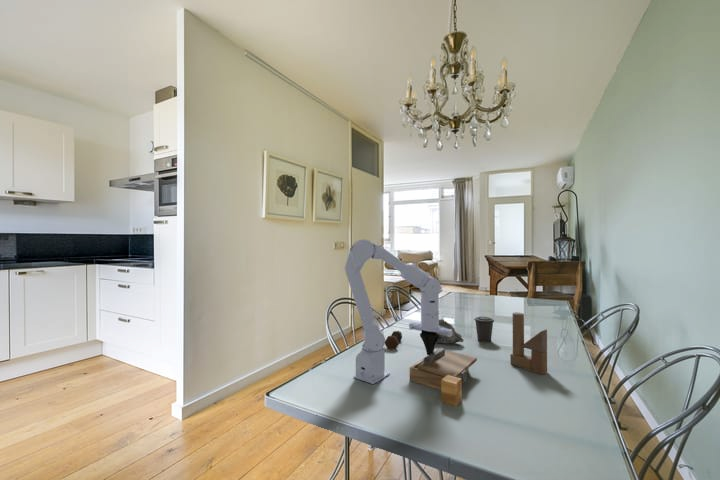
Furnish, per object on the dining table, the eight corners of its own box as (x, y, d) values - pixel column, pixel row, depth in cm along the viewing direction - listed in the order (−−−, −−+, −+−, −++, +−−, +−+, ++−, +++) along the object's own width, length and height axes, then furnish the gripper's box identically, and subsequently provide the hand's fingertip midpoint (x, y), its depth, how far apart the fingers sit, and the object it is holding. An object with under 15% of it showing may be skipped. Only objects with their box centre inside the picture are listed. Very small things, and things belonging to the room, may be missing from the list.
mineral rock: (465, 345, 129) (465, 321, 129) (445, 350, 124) (445, 324, 124) (443, 337, 140) (442, 315, 140) (424, 341, 135) (424, 317, 135)
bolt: (400, 342, 139) (393, 353, 125) (390, 336, 140) (382, 345, 126) (406, 331, 138) (400, 341, 124) (396, 325, 140) (389, 333, 125)
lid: (458, 387, 87) (458, 371, 87) (417, 375, 95) (417, 360, 95) (479, 367, 101) (479, 353, 101) (442, 358, 109) (442, 345, 109)
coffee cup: (470, 339, 137) (470, 316, 137) (483, 336, 141) (483, 314, 141) (484, 344, 130) (484, 320, 130) (498, 341, 133) (498, 318, 133)
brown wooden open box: (446, 391, 90) (446, 378, 90) (409, 380, 97) (409, 367, 97) (468, 371, 104) (468, 359, 104) (434, 362, 111) (434, 351, 111)
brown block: (455, 406, 82) (455, 383, 82) (441, 402, 84) (441, 379, 84) (461, 400, 85) (461, 378, 85) (447, 396, 87) (447, 374, 87)
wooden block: (542, 375, 100) (541, 319, 100) (510, 364, 109) (509, 313, 109) (547, 372, 102) (547, 317, 102) (515, 362, 111) (515, 311, 111)
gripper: (456, 313, 101) (456, 355, 101) (416, 308, 110) (416, 346, 110) (447, 318, 96) (447, 362, 96) (405, 311, 105) (406, 352, 105)
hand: (430, 354), depth 102 cm, fingers closed
